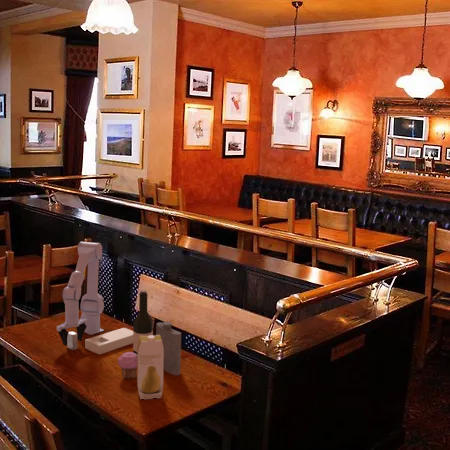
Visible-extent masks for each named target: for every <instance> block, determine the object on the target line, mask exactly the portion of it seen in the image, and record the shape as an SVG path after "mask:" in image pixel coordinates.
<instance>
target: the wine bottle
mask: <svg viewBox="0 0 450 450" xmlns="http://www.w3.org/2000/svg"><path fill="white" fill-rule="evenodd" d="M138 295H139V296H138V297H139V300H138V302H139V305H138V306H139V307H138V309H139V310H138V311H139V312H138V314H137V316H135V319H134V321H133V323H132V324H133V325H132V326H133V328H132V329H133V330H132V331H133V343H132V346H133V347H132V349H133V350H132V352H133V353H135V354H137V347H138V340H139V337H140V336H149V335H153V336H154V320H153V318H152V317H151V315H150V314H149V312H148V292H147V290H140V292H139V294H138Z"/></svg>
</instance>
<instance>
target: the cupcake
mask: <svg viewBox="0 0 450 450" xmlns="http://www.w3.org/2000/svg"><path fill="white" fill-rule="evenodd" d="M117 365H118V366H119V367H120V369H121V375H122V378H123V379H127V380H128V379H135V378H137V354H135V353H133V351H128V352H127V351H126V352H124V353H122V354H121V355H120V356H119V357H118V359H117Z"/></svg>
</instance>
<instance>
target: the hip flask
mask: <svg viewBox="0 0 450 450" xmlns="http://www.w3.org/2000/svg"><path fill="white" fill-rule="evenodd" d="M155 325H156V326H155V327H156V328H155V329H156V330H155V332H156V333H155V335H160V336H161V339H162V341H163V348H164V361H163V371H164V372H166V373H168V374H170V375H173V376H180V375H181V359H182V356H181V353H182V352H181V351H182V332H181V331H177V330H175V329H173V328H172V325H173V324H172V322H171V321H164V322H156V324H155Z"/></svg>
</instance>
